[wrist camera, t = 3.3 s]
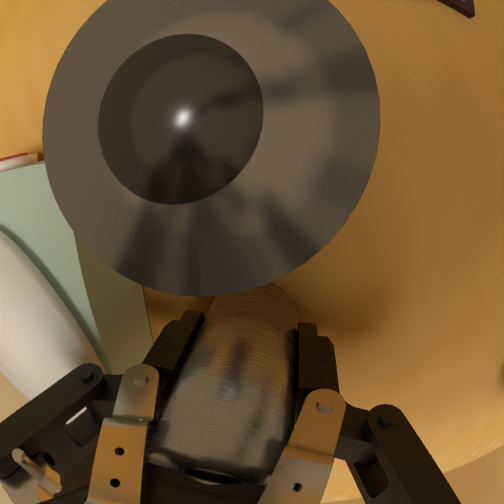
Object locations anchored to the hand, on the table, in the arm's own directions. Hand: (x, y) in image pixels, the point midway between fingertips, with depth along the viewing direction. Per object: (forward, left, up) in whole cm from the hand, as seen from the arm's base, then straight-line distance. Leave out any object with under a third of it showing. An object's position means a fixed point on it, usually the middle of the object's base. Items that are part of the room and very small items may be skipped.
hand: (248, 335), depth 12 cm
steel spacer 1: (-8, 0, -1) cm, 8 cm away
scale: (0, -12, -1) cm, 12 cm away
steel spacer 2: (0, 0, -1) cm, 1 cm away
